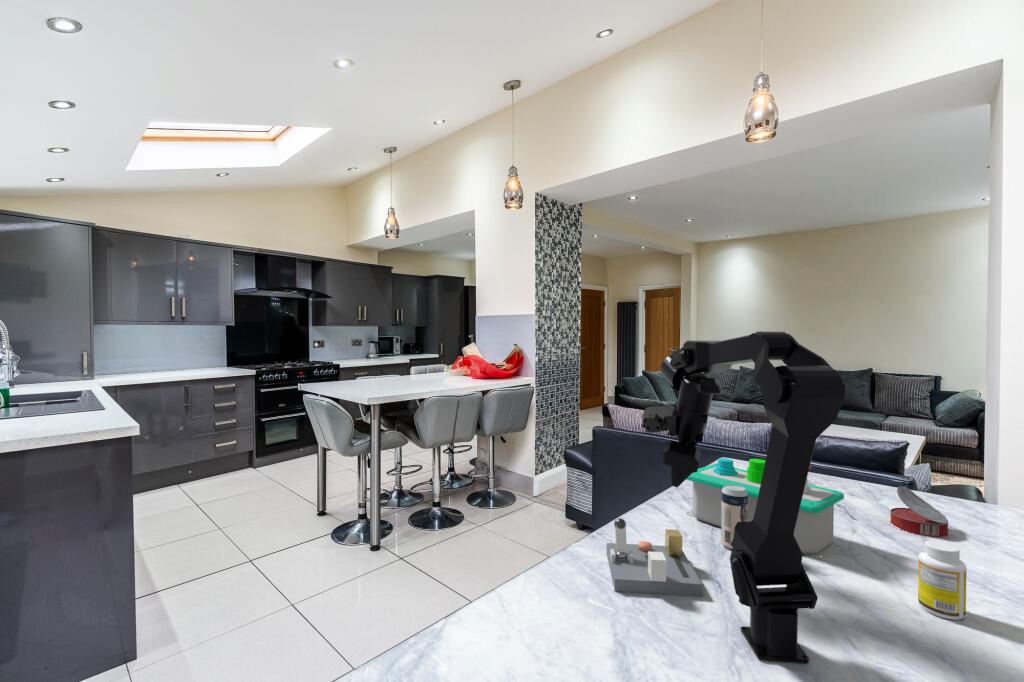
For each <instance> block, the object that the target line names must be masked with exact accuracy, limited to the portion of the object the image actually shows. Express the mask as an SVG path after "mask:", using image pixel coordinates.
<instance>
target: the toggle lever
mask: <svg viewBox="0 0 1024 682" xmlns="http://www.w3.org/2000/svg"><path fill="white" fill-rule="evenodd" d="M613 525H614V526H613V527H614V538H615V543H616V550H627V544H628V543H627V523H626V521H625V519H623V518H621V517H619V518H616V519H615V520H614V523H613ZM616 559H624V560H628V553H627V552H616Z"/></svg>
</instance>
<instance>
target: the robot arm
mask: <svg viewBox="0 0 1024 682" xmlns="http://www.w3.org/2000/svg"><path fill="white" fill-rule="evenodd" d="M771 361H782V362H783V363H784V364H785V365H779V366H776V367H775V366H774V365H773V363H772V362H771ZM745 363H754V367H753V376H752V377H753V380H754V381H755V383H756V384H757V386H758V387H759V388H760V390H761V391H762V393H763V403H762V404H763V408H764V412H765V413H766V415H767V418H768V420H769V421H770V424H771V434H770V437H769V443H768V448H767V452H766V456H765V466H764V471H763V476H762V480H761V485H760V490H759V495H758V499H757V504H756V509H755V514H754V518H753V520H752V521H749V522H737V524H736V526H735V528H734V538H733V541H732V542H731V546H732V547H733V548H732V550H731V553H730V558H729V562H730V563H729V564H730V569H731V575H732V580H733V586H734V590H735V595H737V596H738V602H739V603H740V605H743V606H746V607H748V608H750V609H749V613H750V614H749V626H741V627H740V632H741V635H742V636H743V637H744V638H745V640H746V642H747V644H748V645H749V647H750V648H751V650H752V652H753V653H754V655H755V657H756V658H757V659H759V660H762V661H763V660H765V661H777V662H779V661H780V662H791V663H792V662H793V663H806V664H808V663H809V662H810V657H809V656H808V655H807V653H806V651H805V650H803V648H802V646H801V645H800V644H799V643H798V635H799V634H798V633H799V632H798V629H799V628H798V627H799V625H798V624H799V623H798V622H799V610H800V609H802V610H803V609H810V610H814V609H815V608H816V605H817V601H818V594H817V592H816V590H815V588H814V587H813V584H812V582H811V580H810V577H809V575H808V574H807V572H806V570H805V568H804V565H803V554H804V553H802V550H801V548H800V546H799V544H798V542H797V540H796V538H795V536H794V530H795V526H796V522H797V518H798V513H799V509H800V505H801V501H802V497H803V492H804V488H805V484H806V480H807V479H808V475H809V471H810V469H809V467H811V463H812V457H813V455H814V451H815V446H816V442H817V439H818V438H819V436H821V434H823V433H824V432H825V431H826V430H827V429H828V428H829V427H830V426H832V425H833V423H834V422H835V421H836V420H837V418H838V415H839V413H840V411H841V408H842V407H843V404H844V401H845V399H846V395H847V385H846V383H845V382H844V380H843V378H842V377H841V375H840V374H839V373H838V371H837V370H836V369H834V368H833V367H832V366H831V365H830V364H829V362H827V360H826V359H825V358H823V357H822V356H820V355H818V354H817V353H815V352H813V351H812V350H811V349H809V348H807V347H805V346H803V345H802V344H800V343H799V341H797V340H796V339H795V338H794V337H793V335H792V334H790V333H787V332H785V331H756V332H752V333H751V334H748V335H744V336H739V337H734V338H729V339H725V340H724V339H723V340H691V339H690V340H686V341H685V342H684V343H683V345H682V347H681V348H680V349H677V348H676V349H672V354H670V355H668V356H666V357H665V358H664V359H663V361H662V363H661V364H660V372H661V374H662V376H663V377H664V378H665V379H666V381H668V383H669V384H670V385H671V387H673V388H674V390H676V391H678V392H679V393H678V397H677V400H676V401H675V404H674V406H668V405H662V406H661V405H660V406H648V407H646V408H644V411H643V413H642V415H641V417H642V425H641V428H643V429H644V431H645V432H646V433H661V432H666V431H668V432H667V435H669V436H672V437H676V438H678V441H675V440H670V441H668V442H666V443H665V444H664V448H663V451H662V455H661V460H660V462H661V463H662V464H663V465H666V466H669V468H670V469H669V470H670V479H671V486H672V487H675V488H679V487H680V486H681V484H683V482H685V481H686V479H687V478H688V477H689V476H690V475H691V474H692V473H695V472H697V470H698V469H699V465H700V460H701V456H702V455H701V454H702V452H701V451H700V450H699V449H698V447H696V446H697V445H698V443H703V439H704V435H705V431H706V428H707V424H708V418H709V413H710V412H709V411H710V408H711V405H712V400H713V395H719V394H720V393H721V390H720V387H719V385H718V384H717V382H716V379H715V377H710V376H709V375H708V374H709V373H711V374H712V373H713V374H716V373H717V374H721V373H723V372H726V371H728V370H730V369H731V368H732V366H733V365H738V364H739V365H740V364H745ZM781 585H782V586H781ZM783 585H785V586H783ZM761 586H762V587H761ZM766 586H775V587H766ZM776 586H777V587H776Z"/></svg>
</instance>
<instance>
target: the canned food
mask: <svg viewBox="0 0 1024 682" xmlns="http://www.w3.org/2000/svg"><path fill="white" fill-rule="evenodd" d="M896 493H897V496H898V497H899V499H900V500H901V502H902V503H903V504H904V505H905V506H906V507H894V508H891V509H890V524H891V523H892V524H893V525H894V526H896V527H898V528H900V529H902V530H901V531H903V530H904V531H903V532H905V531H907V532H906V533H909V534H912V533H913V534H914V535H916V536H921V537H927V536H928V537H929V538H945V537H947V536H949V519H947V517H946V515H944V514H942V513H941V511H940V510H938V509H937V508H935V507H933V505H931V504H930V503H928V502H927V501H925V500H924V499H923V498H922V497H920V496H919V495H917V494H916V493H914V491H912V490H911V489H910V488H908V487H907V486H902V485H899V486H898V487H897V488H896ZM894 526H893V527H894ZM896 527H895V528H896ZM898 528H897V529H898ZM900 529H899V530H900Z"/></svg>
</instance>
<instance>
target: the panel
mask: <svg viewBox="0 0 1024 682" xmlns="http://www.w3.org/2000/svg"><path fill="white" fill-rule="evenodd" d="M648 551H650V552H663V554H664V556H665V558H666V582H662V581H651V579H650V576H649V574H648ZM616 552H627V553H628V560H624V559H616ZM606 556H607V561H608V566H609V567H608V568H609V570H610V571H609V572H610V577H611V580H612V585H613V590H614V592H623V593H624V592H625V593H639V592H641V593H643V594H657V595H658V594H659V595H675V596H688V595H694V596H693V597H703V584H702V582H701V580H700V578H699V576H698V575H697V573H696V571H695V569H694V567H693V566H692V565H691V563H690V561H689V559H688V557H687V556H686V553H685V552H684V550H683V549H682V556H681V555H669V554H668V552H667V550H666V548H665V545H657V544H652V543H651V542H649V541H645V540H643V541H639V542H638V544H637V543H636V544H634V543H627V550H616V542H606ZM695 595H696V596H695Z"/></svg>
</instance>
